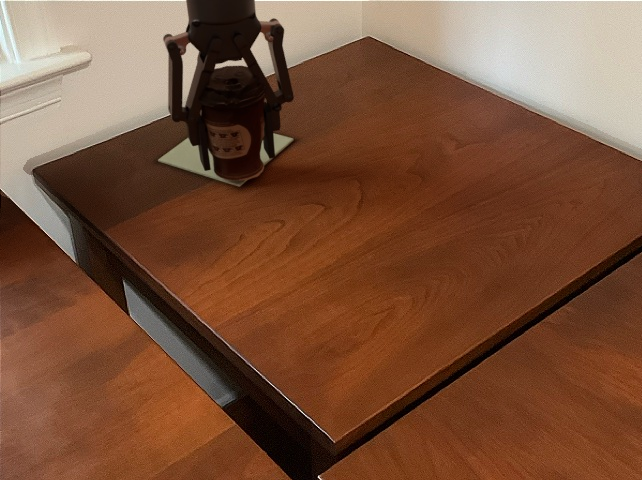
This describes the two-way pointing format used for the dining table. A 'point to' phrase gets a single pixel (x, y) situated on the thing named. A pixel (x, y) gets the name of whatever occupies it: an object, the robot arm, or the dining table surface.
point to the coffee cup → (234, 122)
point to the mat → (190, 158)
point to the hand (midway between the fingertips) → (237, 158)
